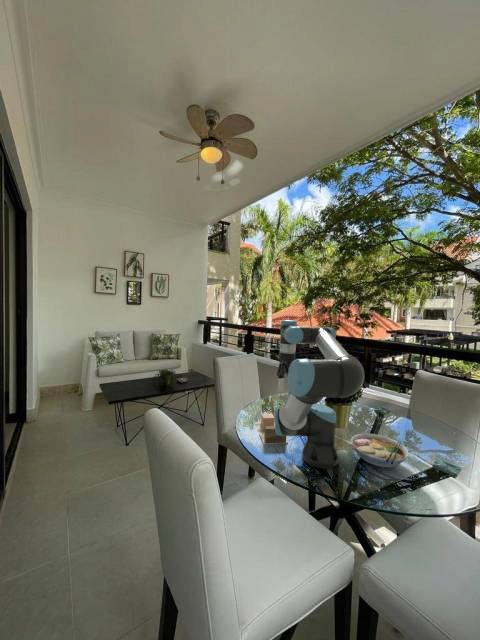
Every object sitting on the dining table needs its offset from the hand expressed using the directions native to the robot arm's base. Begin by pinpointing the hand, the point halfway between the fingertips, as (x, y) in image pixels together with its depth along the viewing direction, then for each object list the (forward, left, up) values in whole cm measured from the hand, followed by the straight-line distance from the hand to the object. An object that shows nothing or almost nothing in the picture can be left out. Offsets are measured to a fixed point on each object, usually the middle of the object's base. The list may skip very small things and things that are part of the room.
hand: (285, 395), depth 141 cm
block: (+15, +5, -22) cm, 27 cm away
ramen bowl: (-21, -36, -23) cm, 48 cm away
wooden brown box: (+9, +5, -23) cm, 25 cm away
